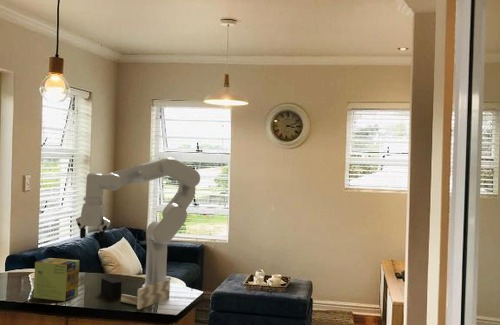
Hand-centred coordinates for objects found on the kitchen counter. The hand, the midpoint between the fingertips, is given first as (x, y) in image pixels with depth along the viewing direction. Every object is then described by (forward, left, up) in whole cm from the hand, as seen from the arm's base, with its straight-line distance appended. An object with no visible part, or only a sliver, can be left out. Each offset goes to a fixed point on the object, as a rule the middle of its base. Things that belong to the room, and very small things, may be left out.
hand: (91, 238), depth 231 cm
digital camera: (-2, +11, -25) cm, 27 cm away
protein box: (+13, -7, -24) cm, 29 cm away
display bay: (-2, +27, -24) cm, 36 cm away
